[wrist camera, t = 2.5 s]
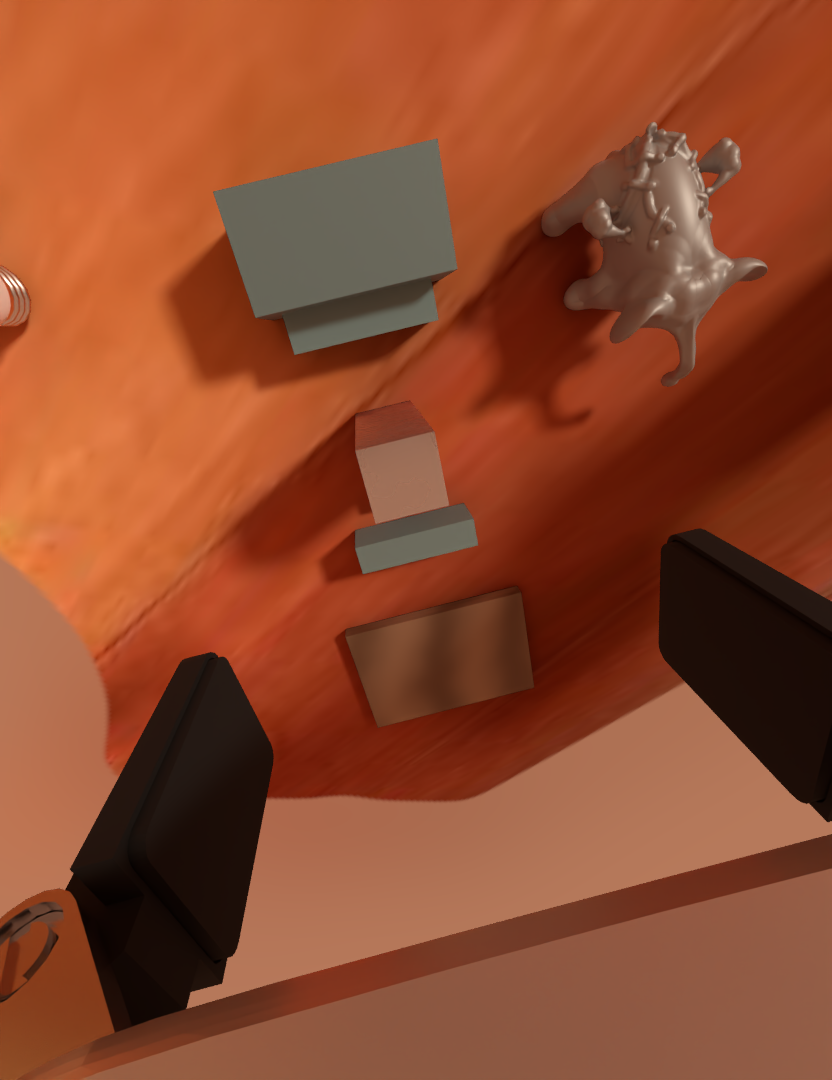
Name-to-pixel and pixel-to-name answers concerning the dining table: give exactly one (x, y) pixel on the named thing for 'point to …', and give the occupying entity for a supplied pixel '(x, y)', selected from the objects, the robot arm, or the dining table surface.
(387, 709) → the walnut board
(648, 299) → the grey monster figurine
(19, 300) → the light bulb
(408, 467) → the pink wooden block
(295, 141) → the dining table surface
